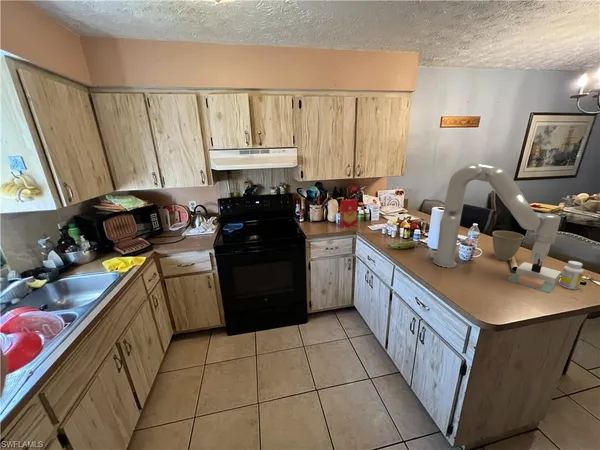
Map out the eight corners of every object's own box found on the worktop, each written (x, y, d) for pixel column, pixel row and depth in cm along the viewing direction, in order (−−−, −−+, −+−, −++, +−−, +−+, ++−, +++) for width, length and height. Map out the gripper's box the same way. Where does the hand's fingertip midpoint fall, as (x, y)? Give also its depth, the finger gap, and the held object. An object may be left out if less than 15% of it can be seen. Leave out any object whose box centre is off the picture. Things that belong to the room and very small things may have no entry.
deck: (515, 274, 136) (517, 267, 135) (522, 268, 142) (524, 262, 141) (553, 285, 124) (555, 278, 123) (559, 278, 130) (561, 271, 129)
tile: (522, 273, 131) (521, 278, 131) (518, 277, 127) (517, 281, 128) (545, 280, 123) (544, 285, 124) (542, 284, 120) (540, 289, 121)
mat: (507, 280, 131) (507, 279, 131) (514, 274, 136) (514, 273, 136) (549, 293, 118) (549, 292, 118) (554, 286, 123) (554, 285, 123)
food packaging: (342, 228, 227) (343, 201, 219) (340, 226, 232) (340, 200, 224) (356, 226, 231) (357, 199, 224) (353, 224, 236) (354, 198, 229)
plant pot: (487, 252, 165) (492, 229, 160) (516, 256, 157) (522, 232, 152) (488, 260, 153) (493, 236, 149) (520, 265, 145) (526, 240, 140)
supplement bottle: (575, 284, 124) (582, 261, 120) (580, 291, 119) (588, 267, 115) (556, 281, 127) (563, 258, 124) (561, 287, 122) (568, 264, 118)
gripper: (538, 233, 130) (530, 265, 135) (529, 239, 122) (521, 273, 127) (558, 236, 124) (549, 269, 129) (550, 244, 116) (541, 279, 121)
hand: (535, 271), depth 128 cm, fingers closed
